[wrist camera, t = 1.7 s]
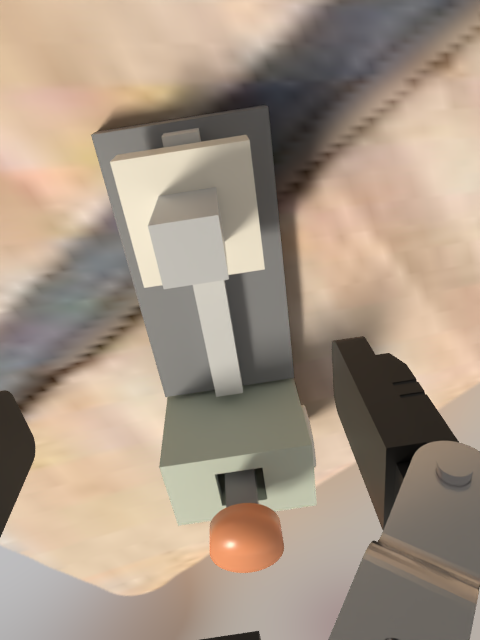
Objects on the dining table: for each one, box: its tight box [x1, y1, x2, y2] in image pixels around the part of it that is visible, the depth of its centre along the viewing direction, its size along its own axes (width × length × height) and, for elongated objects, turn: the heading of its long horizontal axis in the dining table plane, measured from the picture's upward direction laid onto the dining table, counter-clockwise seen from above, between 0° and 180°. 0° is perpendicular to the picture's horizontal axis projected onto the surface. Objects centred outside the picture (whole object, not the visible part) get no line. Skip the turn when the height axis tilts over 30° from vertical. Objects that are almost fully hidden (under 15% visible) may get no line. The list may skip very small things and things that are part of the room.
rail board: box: [91, 105, 294, 397], centre depth 30 cm, size 10×19×3 cm, turn 8°
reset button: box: [210, 469, 284, 573], centre depth 29 cm, size 4×4×7 cm
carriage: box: [110, 135, 265, 289], centre depth 23 cm, size 7×7×8 cm
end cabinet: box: [159, 378, 317, 526], centre depth 34 cm, size 10×6×8 cm, turn 98°
